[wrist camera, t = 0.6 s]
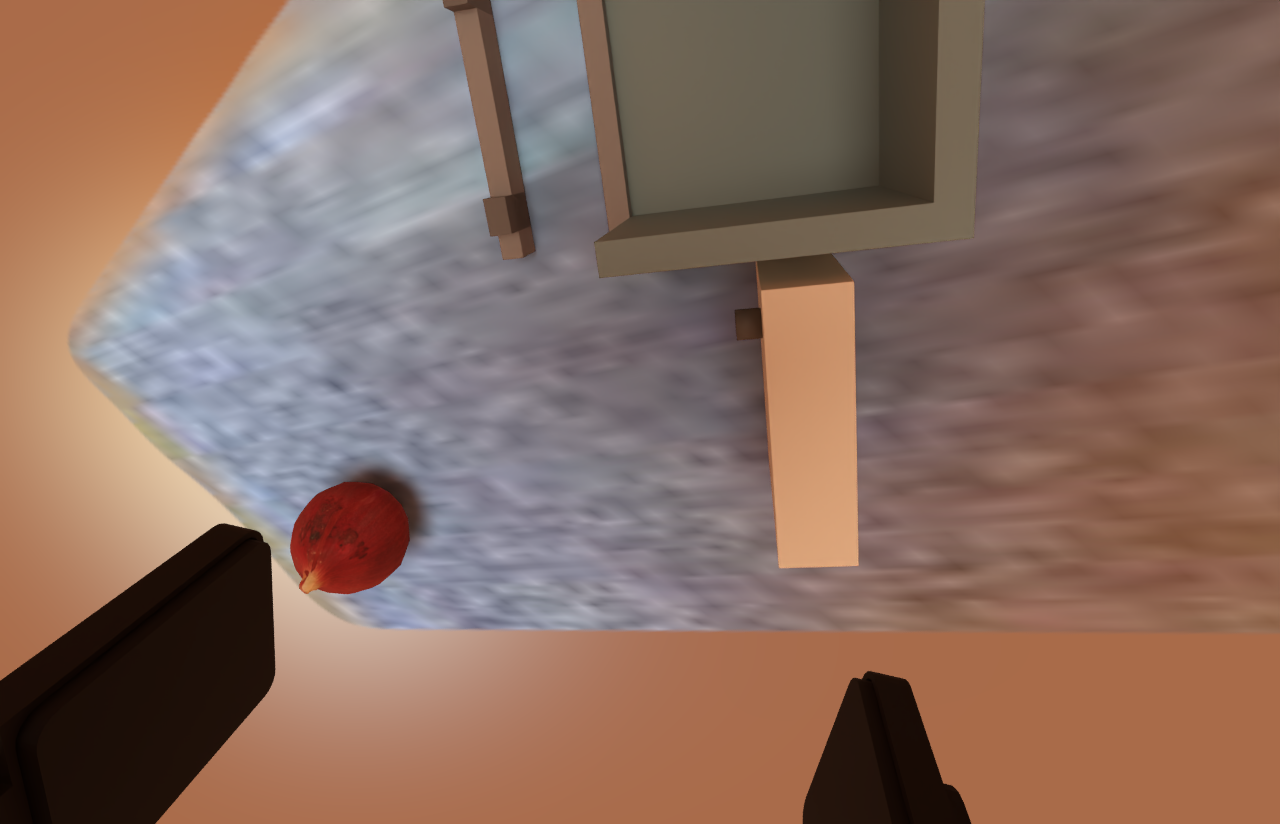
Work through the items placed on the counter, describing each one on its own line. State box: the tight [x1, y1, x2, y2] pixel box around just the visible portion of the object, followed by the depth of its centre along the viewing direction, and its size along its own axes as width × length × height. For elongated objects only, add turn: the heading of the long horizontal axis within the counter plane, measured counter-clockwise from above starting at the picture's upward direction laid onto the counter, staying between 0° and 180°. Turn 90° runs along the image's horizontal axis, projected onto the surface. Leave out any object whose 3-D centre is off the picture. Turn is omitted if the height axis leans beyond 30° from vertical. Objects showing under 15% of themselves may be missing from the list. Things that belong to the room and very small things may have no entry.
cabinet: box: [443, 0, 985, 278], centre depth 25 cm, size 18×13×10 cm
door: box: [735, 253, 858, 568], centre depth 29 cm, size 4×11×10 cm, turn 7°
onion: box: [290, 482, 410, 594], centre depth 36 cm, size 6×6×8 cm
